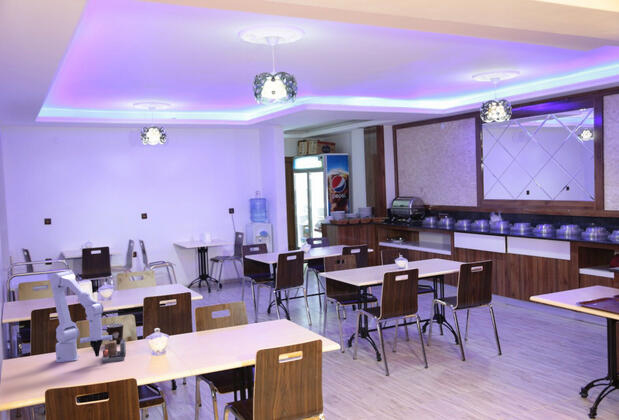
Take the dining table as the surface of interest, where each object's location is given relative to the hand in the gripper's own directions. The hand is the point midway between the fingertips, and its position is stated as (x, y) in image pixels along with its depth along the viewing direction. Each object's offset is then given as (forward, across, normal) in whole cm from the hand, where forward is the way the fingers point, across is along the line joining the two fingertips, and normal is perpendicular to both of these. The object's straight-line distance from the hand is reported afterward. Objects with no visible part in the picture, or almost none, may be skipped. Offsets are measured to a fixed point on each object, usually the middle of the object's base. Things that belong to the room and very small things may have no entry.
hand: (97, 355), depth 276 cm
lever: (+2, +4, 0) cm, 4 cm away
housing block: (+2, +6, +9) cm, 11 cm away
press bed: (+3, +7, +6) cm, 10 cm away
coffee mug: (+4, +4, +35) cm, 35 cm away
